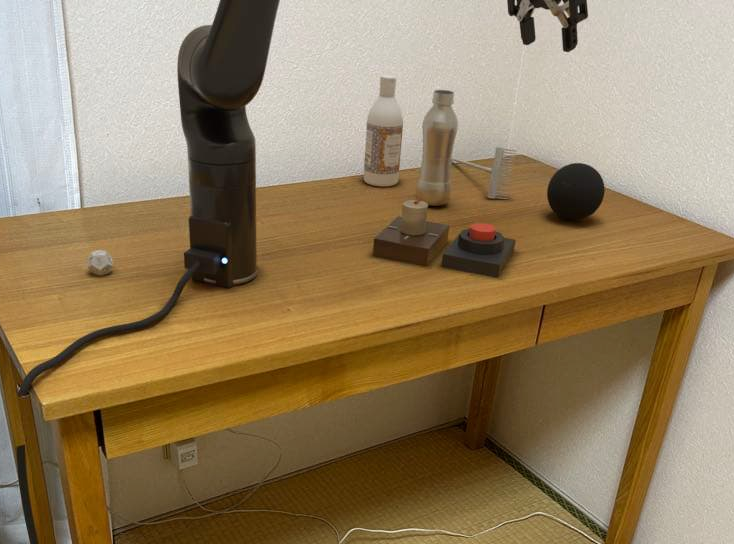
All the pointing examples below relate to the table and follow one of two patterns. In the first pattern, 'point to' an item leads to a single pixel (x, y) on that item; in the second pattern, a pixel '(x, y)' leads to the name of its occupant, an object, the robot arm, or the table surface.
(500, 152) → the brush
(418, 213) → the lock dial
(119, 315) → the table surface
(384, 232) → the dial panel
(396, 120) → the bath foam
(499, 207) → the table surface
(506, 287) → the table surface
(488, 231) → the red push button
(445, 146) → the plastic bottle
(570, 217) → the speaker
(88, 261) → the game die
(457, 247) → the button housing
